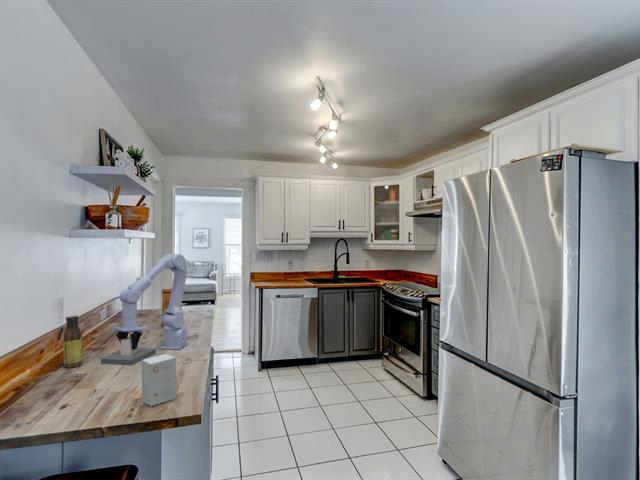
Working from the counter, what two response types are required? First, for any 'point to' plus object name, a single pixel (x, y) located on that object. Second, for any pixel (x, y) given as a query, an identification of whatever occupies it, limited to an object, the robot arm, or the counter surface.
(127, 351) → the plug
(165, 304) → the coffee package
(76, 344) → the sauce bottle
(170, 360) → the small box
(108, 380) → the counter surface
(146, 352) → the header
